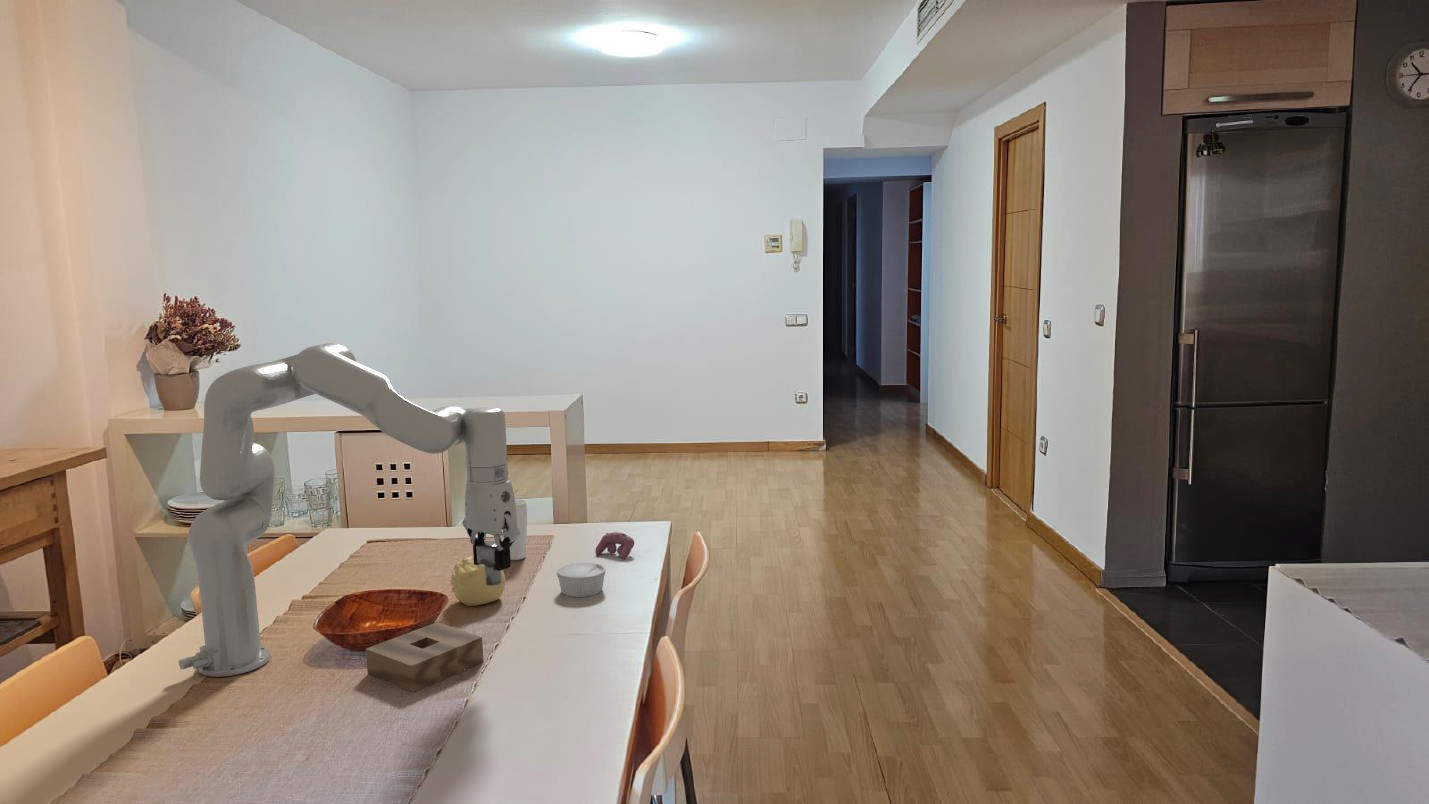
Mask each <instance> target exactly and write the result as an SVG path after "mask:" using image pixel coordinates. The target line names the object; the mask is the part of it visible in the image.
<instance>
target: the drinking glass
mask: <svg viewBox="0 0 1429 804" xmlns="http://www.w3.org/2000/svg"><path fill="white" fill-rule="evenodd" d="M515 504H516V513H517V529H518V530H519V532H520V535H519V536H518V537H517V538H516V539H515V541H514V542H513V544H512V547H511V548H510V561H520V560H523V559H525V558H526V557H527V534H528V532H527V531H528V510H527V509H528V506H527V500H524V499H518V498H517V499H515ZM502 537H503V538H504V536H502Z"/></svg>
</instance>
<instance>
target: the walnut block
mask: <svg viewBox="0 0 1429 804" xmlns="http://www.w3.org/2000/svg"><path fill="white" fill-rule="evenodd" d="M483 645H484V644H483V636H480V635H476V634H473V633H470V632H468V631H464V630H461V629H458V628H455V627H453V626H449V625H446V624H443V623H440V622H437V621H436V622H433V623H431V624H428V625H425V626H423V627H421V628H418V629H414V630H412V631H409V632H407V633H404V634H402V635H399V636H396V637H393V638H391V639H388V640H386V641H383V642H380V643H378V644H375V645H372V646H370V647H367V648H365V656H366V657H365V658H366V659H365V660H366V668H367V669H366V670H367V675H369V676H371V677H375V678H377V679H378V680H379V679H380V680H381V681H384V682H386V683H389V684H392V685H394V686H397V687H399V688H401V689H404V690H406V691H408V692H411V693H415V692H417V691H421V690H423V689H424V688H426V687H430V686H431V685H434V684H436V683H438V682H441V681H443V680H445V679H448V678H450V677H452V676H455V675H456V673H457V674H459V673H461V672H463V671H462V670H464V669H466V670H469V669H470V668H472V667H475V666H478V665H479V663H480V664H482V663H484V661H485V660H484V647H483ZM477 664H478V665H477ZM460 671H461V672H460ZM464 671H465V670H464ZM458 672H459V673H458ZM454 674H455V675H454ZM447 677H448V678H447ZM444 678H445V679H444ZM442 679H443V680H442ZM440 680H441V681H440Z"/></svg>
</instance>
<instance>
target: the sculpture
mask: <svg viewBox="0 0 1429 804" xmlns="http://www.w3.org/2000/svg"><path fill="white" fill-rule="evenodd" d="M450 585H451V586H452V588H451V592H453V593H454V596H455V598H456V599H457V600H458V601H459V602H461V603H463V604H464V605H466V606H468V607H469V606H470V607H471V606H472V607H473V606H480V605H485V604H488V603H489V604H490V603H493V602H495V601H496V600H499V599H501V597H502V595H503V593H504V590H505V587H506V576H505V572H504V570H501V584H498V585H493V586H489V585H486V584H485V567H484V565H483V564H479V565H474V557H473V555H472V554H471V555H470V556H467V557H463V559H462V560H460V561H456V562H455V564H454V567H453V570H452V571H451V577H450Z"/></svg>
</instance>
